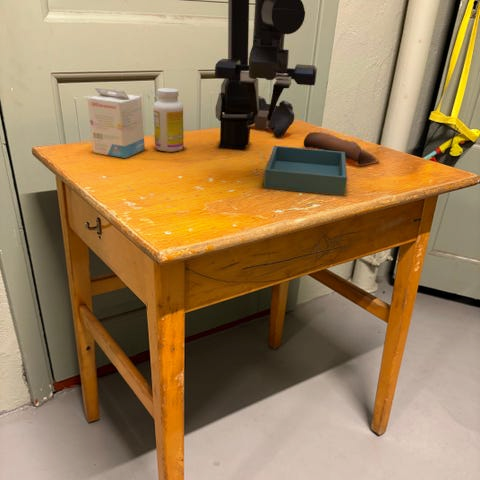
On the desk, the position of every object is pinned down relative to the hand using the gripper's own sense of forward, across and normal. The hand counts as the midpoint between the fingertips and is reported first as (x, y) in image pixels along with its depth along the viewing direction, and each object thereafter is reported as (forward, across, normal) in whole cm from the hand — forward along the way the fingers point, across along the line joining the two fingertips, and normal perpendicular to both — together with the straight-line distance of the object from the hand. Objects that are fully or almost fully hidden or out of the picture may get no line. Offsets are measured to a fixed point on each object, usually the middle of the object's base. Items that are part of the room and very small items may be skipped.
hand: (262, 119), depth 102 cm
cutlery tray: (+11, +10, +2) cm, 15 cm away
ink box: (+11, -33, +7) cm, 36 cm away
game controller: (+11, -3, +40) cm, 41 cm away
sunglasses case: (+11, +17, +22) cm, 30 cm away
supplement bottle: (+11, -23, +14) cm, 29 cm away
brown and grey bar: (+1, 0, +2) cm, 2 cm away
